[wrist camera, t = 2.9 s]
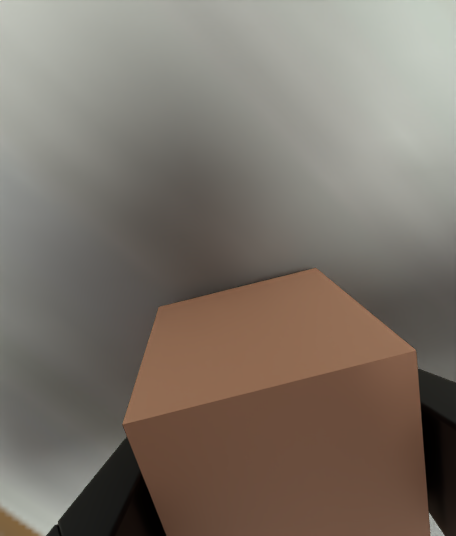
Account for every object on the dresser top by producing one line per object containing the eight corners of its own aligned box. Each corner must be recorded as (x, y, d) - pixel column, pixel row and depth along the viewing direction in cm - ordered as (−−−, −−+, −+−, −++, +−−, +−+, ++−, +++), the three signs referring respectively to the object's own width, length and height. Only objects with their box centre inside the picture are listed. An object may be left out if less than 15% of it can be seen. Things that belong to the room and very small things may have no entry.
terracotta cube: (315, 268, 9) (415, 350, 5) (337, 399, 11) (431, 556, 6) (158, 306, 9) (122, 424, 5) (199, 434, 10) (198, 617, 6)
